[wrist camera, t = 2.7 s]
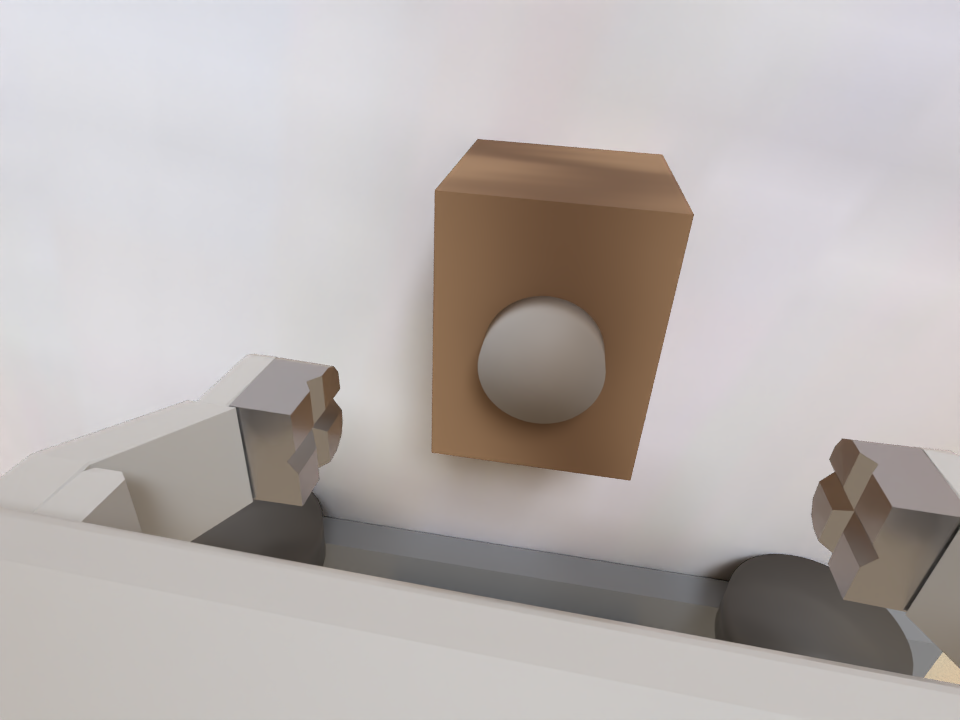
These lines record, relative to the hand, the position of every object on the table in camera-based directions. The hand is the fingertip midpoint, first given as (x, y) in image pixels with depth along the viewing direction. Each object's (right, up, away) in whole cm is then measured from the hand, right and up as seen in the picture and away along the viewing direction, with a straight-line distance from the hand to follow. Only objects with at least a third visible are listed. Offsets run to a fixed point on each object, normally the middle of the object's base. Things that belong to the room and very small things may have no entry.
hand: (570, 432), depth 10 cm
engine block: (+1, +4, +6) cm, 7 cm away
